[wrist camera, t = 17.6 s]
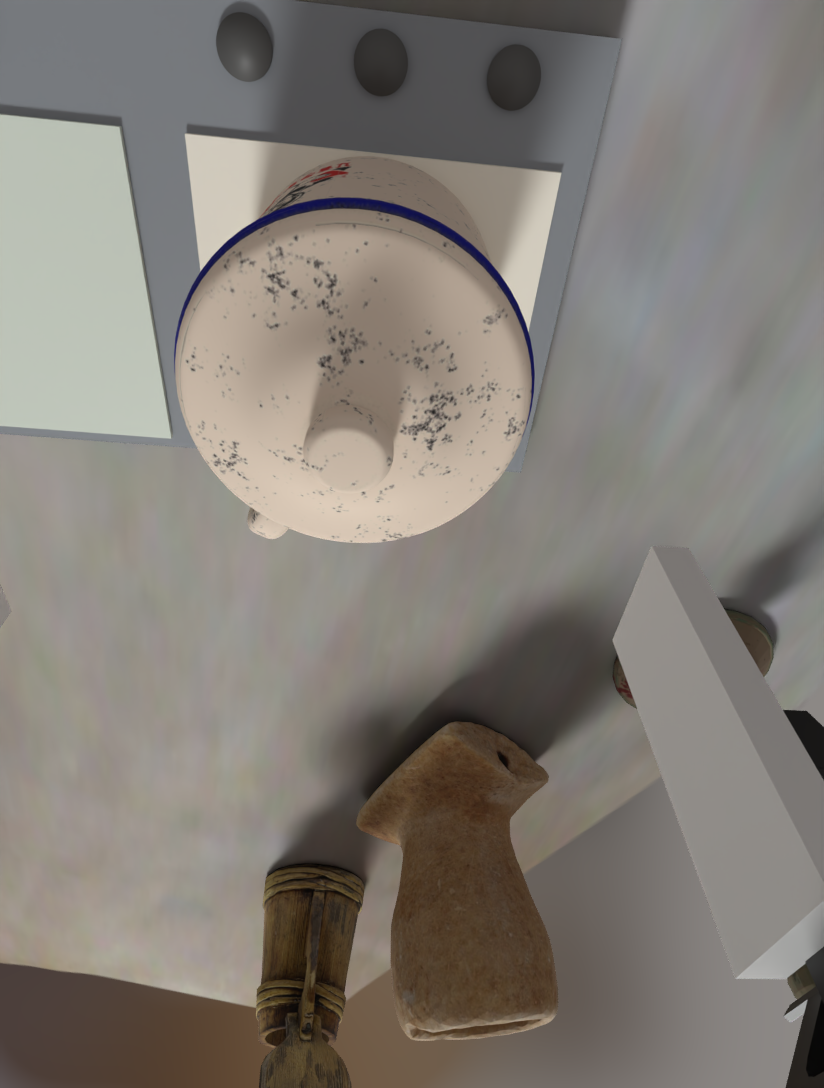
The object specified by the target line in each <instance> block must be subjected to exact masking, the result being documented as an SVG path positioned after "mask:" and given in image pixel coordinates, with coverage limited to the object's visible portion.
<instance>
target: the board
mask: <svg viewBox="0 0 824 1088" xmlns="http://www.w3.org/2000/svg"><path fill="white" fill-rule="evenodd" d="M621 41H622V39H618V38H610V37H601V36H593V35H584V34H576V33H567V32H559V31H550V30H542V29H534V28H525V27H517V26H508V25H500V24H491V23H483V22H474V21H466V20H457V19H449V18H440V17H432V16H424V15H415V14H407V13H398V12H390V11H381V10H373V9H364V8H356V7H347V6H339V5H331V4H322V3H314V2H305V1H297V0H0V434H10V435H24V436H37V437H51V438H64V439H78V440H91V441H105V442H118V443H132V444H145V445H159V446H172V447H185V448H197V446H196V445H195V443H194V441H193V439H192V437H191V435H190V433H189V430H188V428H187V426H186V423H185V420H184V417H183V414H182V411H181V407H180V403H179V399H178V394H177V387H176V380H175V372H174V348H175V337H176V332H177V327H178V321H179V318H180V315H181V311H182V308H183V305H184V302H185V300H186V298H187V296H188V293H189V291H190V289H191V287H192V285H193V283H194V282H195V280H196V278H197V277H198V275H199V273H200V272H201V270H202V269H203V267H204V266H205V265H206V264H207V262H208V261H209V260H210V258H211V257H212V256H213V255H214V254H215V253H216V252H217V251H218V250H219V249H220V248H221V247H222V246H223V244H224V243H225V242H226V241H228V240H229V239H230V238H231V237H233V236H234V235H235V234H236V233H238V232H239V231H240V230H241V229H243V228H245V227H246V226H248V225H249V224H251V223H253V222H254V221H256V220H257V219H259V218H260V216H261V215H262V214H263V213H264V211H265V210H266V209H267V208H268V207H269V205H270V204H271V203H272V202H273V200H274V199H275V198H276V197H277V196H278V194H279V193H280V192H281V191H282V190H283V189H284V188H285V187H286V186H287V185H289V184H290V183H291V182H292V181H294V180H295V179H296V178H298V177H299V176H301V175H302V174H304V173H305V172H307V171H309V170H311V169H313V168H315V167H317V166H319V165H321V164H324V163H327V162H330V161H333V160H338V159H342V158H348V157H357V156H373V157H381V158H388V159H392V160H396V161H400V162H403V163H406V164H408V165H411V166H413V167H416V168H418V169H420V170H422V171H424V172H425V173H427V174H429V175H430V176H432V177H433V178H435V179H436V180H438V181H439V182H440V183H442V184H443V185H444V186H445V187H447V188H448V189H449V190H450V191H451V192H452V193H453V194H454V195H455V196H456V197H457V198H458V199H459V201H460V202H461V203H462V204H463V206H464V207H465V208H466V209H467V211H468V212H469V214H470V215H471V217H472V218H473V220H474V222H475V224H476V226H477V228H478V229H479V231H480V234H481V236H482V239H483V241H484V244H485V246H486V249H487V251H488V254H489V257H490V259H491V262H492V265H493V266H494V268H495V269H496V270H497V271H498V272H499V274H500V275H501V277H502V278H503V279H504V281H505V282H506V284H507V285H508V287H509V288H510V290H511V292H512V294H513V296H514V297H515V299H516V301H517V303H518V305H519V307H520V310H521V312H522V315H523V317H524V320H525V322H526V325H527V329H528V332H529V336H530V339H531V345H532V351H533V356H534V371H535V381H534V395H533V402H532V408H531V412H530V416H529V420H528V424H527V426H526V429H525V432H524V435H523V437H522V439H521V442H520V444H519V446H518V448H517V450H516V453H515V455H514V457H513V458H512V460H511V462H510V463H509V465H508V467H507V468H506V470H505V471H509V472H521V470H522V466H523V461H524V457H525V453H526V449H527V444H528V440H529V436H530V431H531V427H532V423H533V419H534V414H535V410H536V406H537V401H538V397H539V393H540V389H541V384H542V380H543V376H544V371H545V367H546V363H547V359H548V354H549V350H550V346H551V341H552V337H553V333H554V329H555V324H556V320H557V316H558V311H559V307H560V303H561V299H562V294H563V290H564V286H565V281H566V277H567V273H568V269H569V264H570V260H571V256H572V251H573V247H574V243H575V239H576V234H577V230H578V226H579V221H580V217H581V213H582V209H583V204H584V200H585V196H586V191H587V187H588V183H589V179H590V174H591V170H592V166H593V161H594V157H595V153H596V149H597V144H598V140H599V136H600V131H601V127H602V123H603V119H604V114H605V110H606V106H607V101H608V97H609V93H610V89H611V84H612V80H613V76H614V71H615V67H616V63H617V59H618V54H619V50H620V46H621Z"/></svg>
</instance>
